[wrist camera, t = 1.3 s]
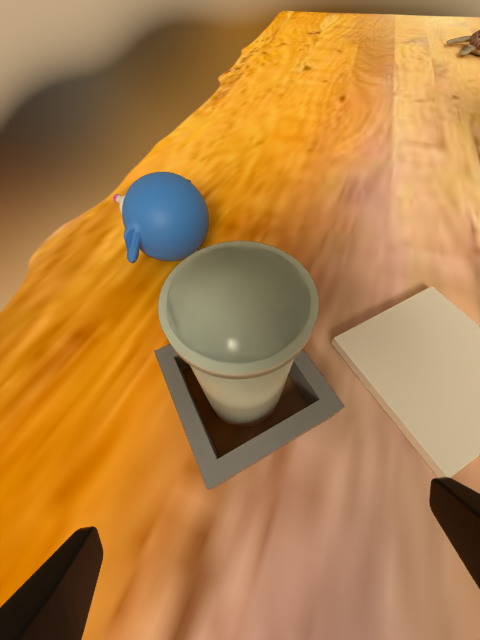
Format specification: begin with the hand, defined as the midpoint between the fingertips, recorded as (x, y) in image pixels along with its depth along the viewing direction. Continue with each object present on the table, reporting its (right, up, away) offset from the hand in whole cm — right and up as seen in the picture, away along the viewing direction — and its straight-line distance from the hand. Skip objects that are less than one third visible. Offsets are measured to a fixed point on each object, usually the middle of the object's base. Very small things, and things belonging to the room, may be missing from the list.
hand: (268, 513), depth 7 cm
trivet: (+16, +1, +15) cm, 22 cm away
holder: (0, -1, +15) cm, 15 cm away
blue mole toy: (-10, +14, +25) cm, 30 cm away
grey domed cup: (-1, 0, +16) cm, 16 cm away
